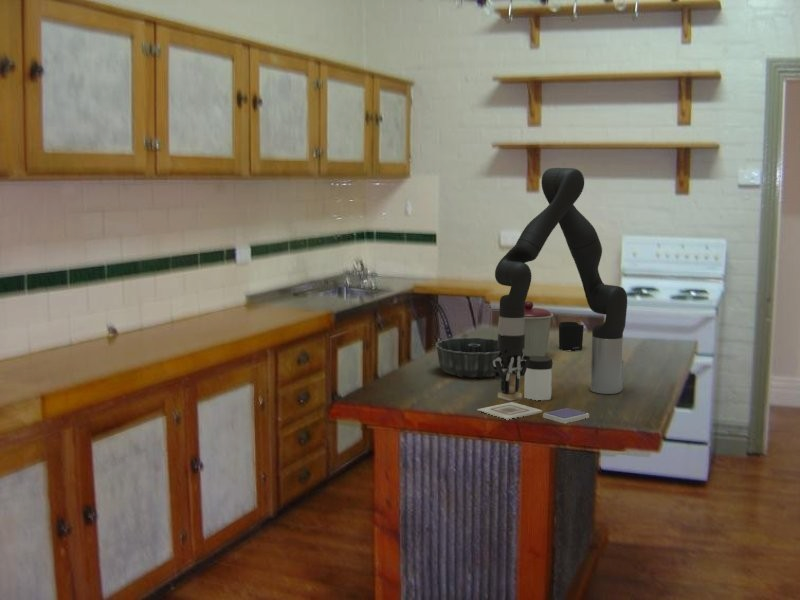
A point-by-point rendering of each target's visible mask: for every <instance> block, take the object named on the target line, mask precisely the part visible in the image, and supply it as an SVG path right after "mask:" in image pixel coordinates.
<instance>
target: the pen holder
mask: <svg viewBox="0 0 800 600" xmlns="http://www.w3.org/2000/svg"><path fill="white" fill-rule="evenodd" d="M584 326H585V325H584V324H580V323H578V322H575V321H562V322H559V323H558V348H559V350H561V349H562V350H561V351H564V350H571V351H570V352H576V351H575V350H580V351H582V350H583V340H584V328H585V327H584Z"/></svg>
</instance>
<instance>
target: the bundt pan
mask: <svg viewBox="0 0 800 600" xmlns="http://www.w3.org/2000/svg"><path fill="white" fill-rule="evenodd" d="M435 348H436V349H437V357H438V363H439V367H440V368H441V370H442V371H444V373H447V374H449V375H451V376H457V377H458V378H464V377H466V378H469V379H474V378H476V377H477V378H479V379H482V378H484V377H486V378H492V377H495V374H494V371H493V367H492V364H491V360H495V359H497V358H498V355H499V352H500V350H499V348H498V339H495V338H486V337H464V336H463V337H459V338H458V337H456V338H455V337H453V338H447V339H442V340H440V341H437V342H436V343H435ZM505 369H508V368H505Z"/></svg>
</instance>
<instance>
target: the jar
mask: <svg viewBox="0 0 800 600" xmlns="http://www.w3.org/2000/svg"><path fill="white" fill-rule="evenodd" d="M553 364H554V363H553V358H552V357H549V356H530V360H529V363H528V366H527V369H526V372H525V375H524V385H523V386H524V390H523V392H524V394H523V398H524V399H526V398H527V399H526V400H530V399H532V400H531V401H535V400H536V401H537V402H538V400H541V401H550V400H551V399H552V388H553V387H552V386H553V385H552V383H553Z"/></svg>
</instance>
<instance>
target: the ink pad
mask: <svg viewBox="0 0 800 600" xmlns="http://www.w3.org/2000/svg"><path fill="white" fill-rule="evenodd" d="M542 418H544V419H548V420H550V421H554V422H557V423H561V424H569V422H570V423H573V422H577V421H581V420H586V419H589V418H590V413H588V412H584V411H582V410H581V411H580V410H577V409H572V408H569V407H565V408H561V409H557V410H553V411H547V412H542ZM585 418H586V419H585Z"/></svg>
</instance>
